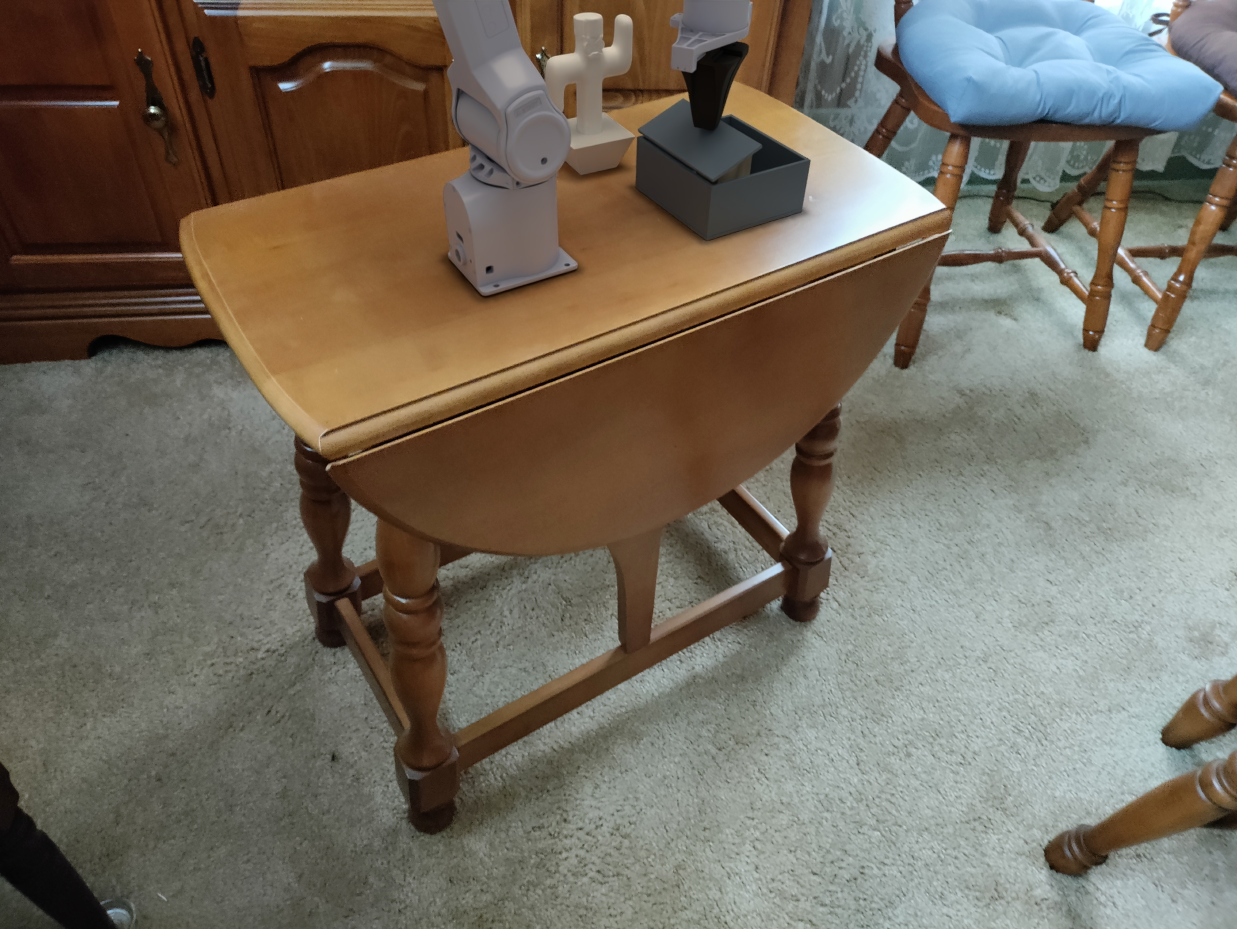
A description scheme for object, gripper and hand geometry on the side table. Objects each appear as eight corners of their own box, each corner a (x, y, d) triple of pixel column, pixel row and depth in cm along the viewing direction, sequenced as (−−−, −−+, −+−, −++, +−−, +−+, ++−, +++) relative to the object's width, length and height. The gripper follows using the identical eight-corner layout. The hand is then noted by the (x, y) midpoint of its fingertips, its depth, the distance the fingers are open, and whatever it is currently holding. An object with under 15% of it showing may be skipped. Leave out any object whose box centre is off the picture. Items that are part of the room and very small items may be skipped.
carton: (706, 240, 82) (711, 187, 78) (635, 187, 90) (636, 136, 86) (801, 211, 87) (811, 159, 83) (726, 163, 94) (731, 113, 91)
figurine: (536, 158, 94) (528, 10, 84) (612, 142, 98) (613, -3, 87) (565, 185, 90) (560, 32, 80) (643, 167, 93) (649, 18, 83)
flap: (712, 182, 78) (712, 179, 78) (638, 132, 86) (637, 129, 86) (762, 147, 79) (761, 144, 78) (683, 100, 86) (683, 97, 86)
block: (730, 137, 89) (697, 145, 87) (752, 152, 86) (719, 160, 85) (726, 174, 91) (694, 182, 90) (748, 190, 89) (716, 198, 87)
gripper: (707, -59, 78) (695, 93, 88) (640, -20, 69) (635, 146, 78) (781, -49, 76) (761, 105, 86) (722, -7, 67) (707, 162, 76)
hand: (705, 126), depth 82 cm, fingers closed
